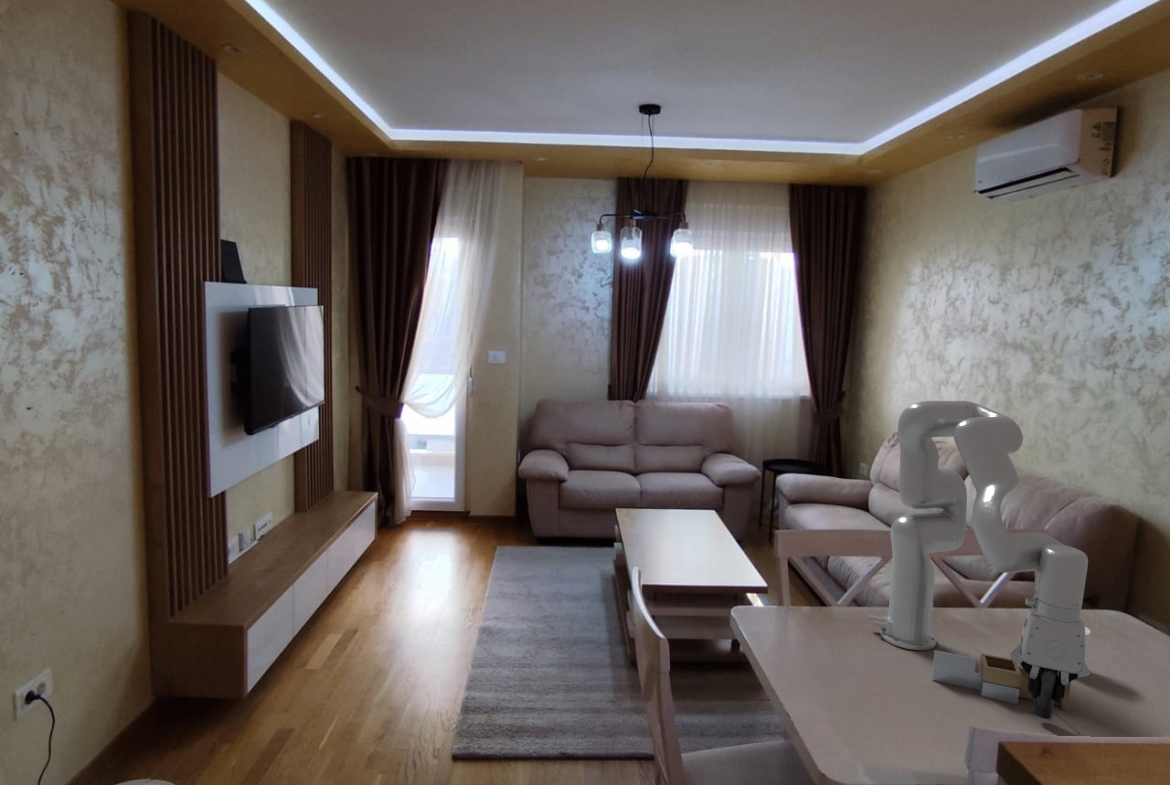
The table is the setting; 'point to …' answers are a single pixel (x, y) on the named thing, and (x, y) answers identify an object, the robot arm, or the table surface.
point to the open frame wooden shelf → (1012, 676)
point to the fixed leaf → (969, 676)
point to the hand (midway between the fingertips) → (1044, 696)
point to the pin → (1045, 693)
